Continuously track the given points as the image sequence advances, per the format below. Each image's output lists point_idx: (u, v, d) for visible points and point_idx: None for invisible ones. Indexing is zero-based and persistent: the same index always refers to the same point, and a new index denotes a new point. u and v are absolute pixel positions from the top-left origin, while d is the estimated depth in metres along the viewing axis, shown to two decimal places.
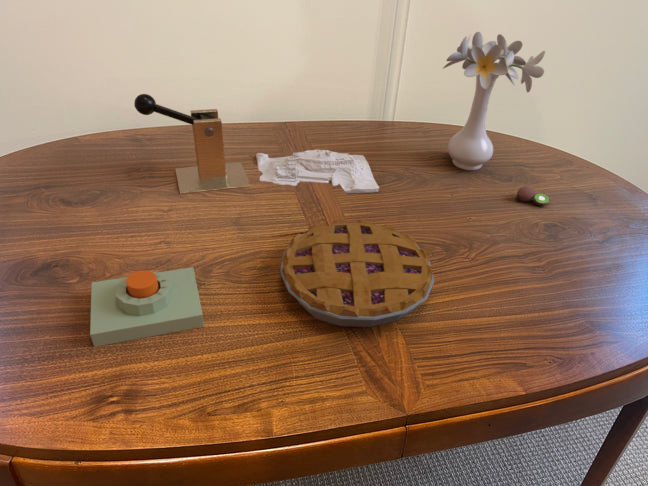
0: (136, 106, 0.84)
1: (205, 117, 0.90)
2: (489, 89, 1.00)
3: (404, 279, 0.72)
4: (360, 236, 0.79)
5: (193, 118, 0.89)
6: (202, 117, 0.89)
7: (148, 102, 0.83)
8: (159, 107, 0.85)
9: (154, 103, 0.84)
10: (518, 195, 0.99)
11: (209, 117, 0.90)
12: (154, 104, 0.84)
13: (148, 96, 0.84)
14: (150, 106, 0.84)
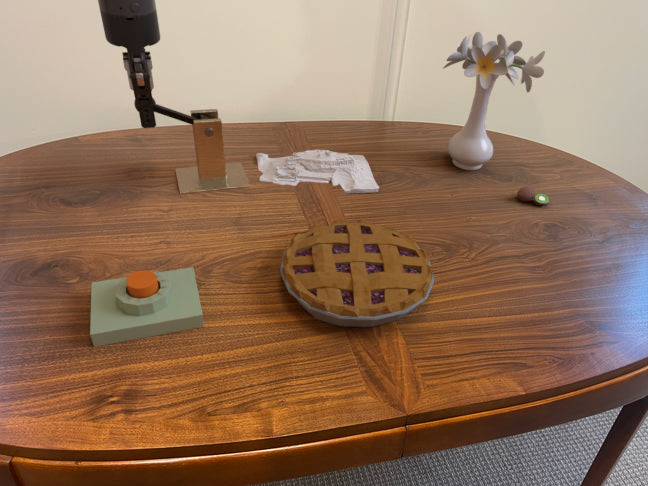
0: (136, 106, 0.84)
1: (205, 117, 0.90)
2: (489, 89, 1.00)
3: (404, 279, 0.72)
4: (360, 236, 0.79)
5: (193, 118, 0.89)
6: (202, 117, 0.89)
7: None
8: (159, 107, 0.85)
9: (154, 103, 0.84)
10: (518, 195, 0.99)
11: (209, 117, 0.90)
12: (154, 104, 0.84)
13: (148, 96, 0.84)
14: None
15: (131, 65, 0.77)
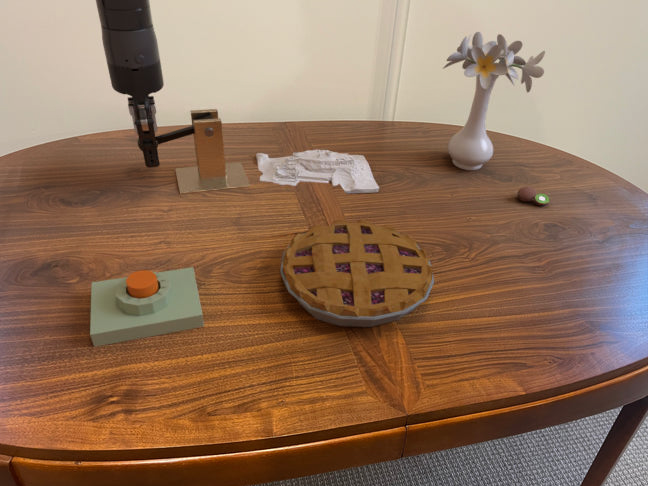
0: (141, 150, 0.88)
1: (200, 119, 0.89)
2: (489, 89, 1.00)
3: (404, 279, 0.72)
4: (360, 236, 0.79)
5: (191, 127, 0.89)
6: None
7: None
8: (159, 138, 0.88)
9: None
10: (518, 195, 0.99)
11: (204, 116, 0.90)
12: None
13: None
14: None
15: (136, 111, 0.81)
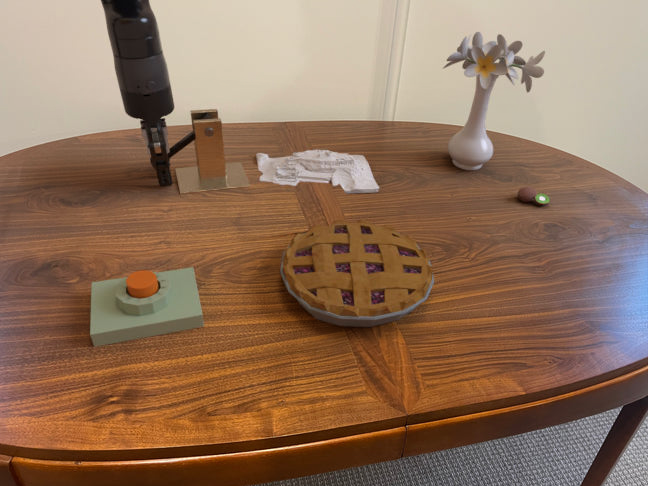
0: None
1: None
2: (489, 89, 1.00)
3: (404, 279, 0.72)
4: (360, 236, 0.79)
5: (193, 132, 0.90)
6: None
7: None
8: None
9: None
10: (519, 196, 0.99)
11: (202, 117, 0.90)
12: None
13: None
14: None
15: (149, 135, 0.84)
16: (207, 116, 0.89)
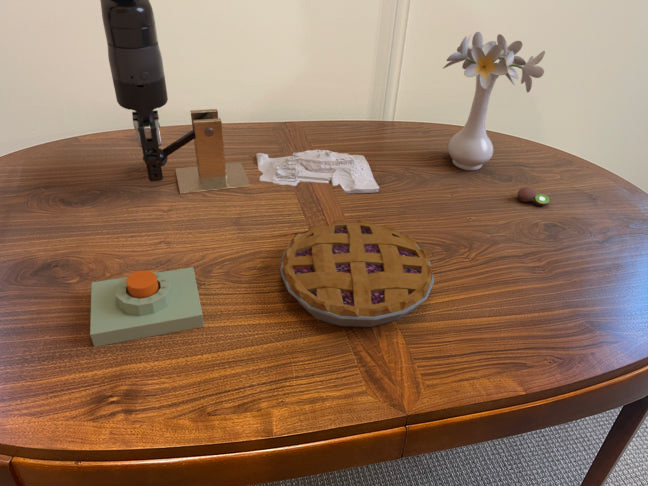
0: None
1: None
2: (489, 89, 1.00)
3: (404, 279, 0.72)
4: (360, 236, 0.79)
5: (193, 131, 0.90)
6: None
7: None
8: (166, 150, 0.90)
9: None
10: (519, 196, 0.99)
11: (202, 117, 0.90)
12: (160, 152, 0.89)
13: (151, 151, 0.89)
14: None
15: None
16: (208, 116, 0.89)
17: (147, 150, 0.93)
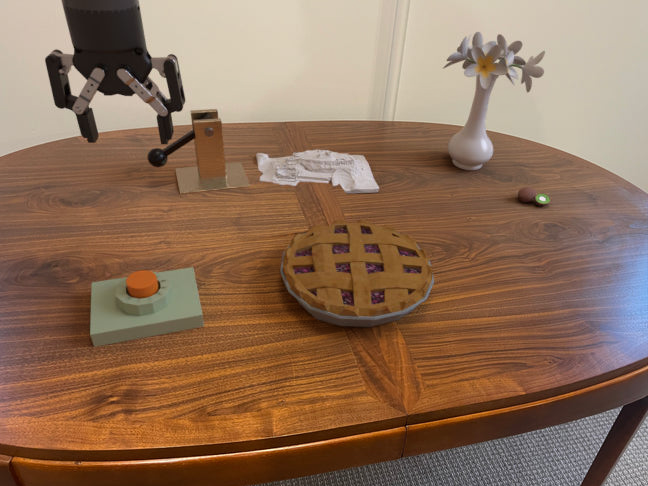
0: None
1: None
2: (489, 89, 1.00)
3: (404, 279, 0.72)
4: (360, 236, 0.79)
5: (193, 131, 0.90)
6: None
7: (155, 156, 0.89)
8: (166, 150, 0.90)
9: (159, 152, 0.89)
10: (519, 196, 0.99)
11: (202, 117, 0.90)
12: (160, 152, 0.89)
13: (151, 151, 0.89)
14: (158, 158, 0.89)
15: (149, 68, 0.61)
16: (208, 116, 0.89)
17: (92, 131, 0.65)
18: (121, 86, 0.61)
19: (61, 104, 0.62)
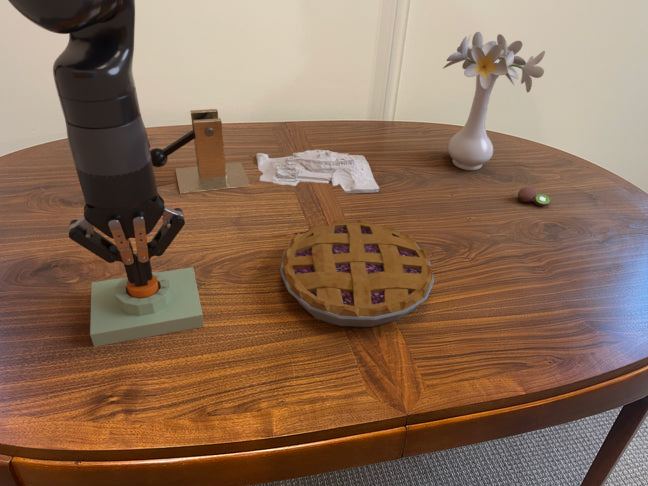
0: None
1: None
2: (489, 89, 1.00)
3: (404, 279, 0.72)
4: (360, 236, 0.79)
5: (193, 131, 0.90)
6: None
7: (155, 156, 0.89)
8: (166, 150, 0.90)
9: (159, 152, 0.89)
10: (519, 196, 0.99)
11: (202, 117, 0.90)
12: (160, 152, 0.89)
13: (151, 151, 0.89)
14: (158, 158, 0.89)
15: (163, 211, 0.61)
16: (208, 116, 0.89)
17: (139, 276, 0.66)
18: None
19: (112, 258, 0.62)
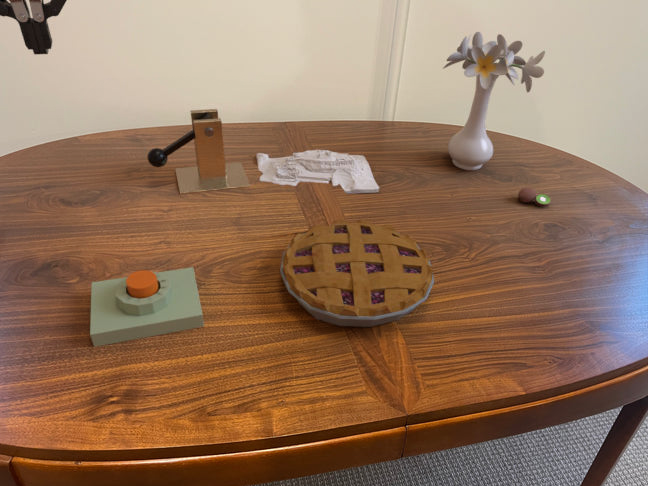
0: None
1: None
2: (489, 89, 1.00)
3: (404, 279, 0.72)
4: (360, 236, 0.79)
5: (193, 131, 0.90)
6: None
7: (155, 156, 0.89)
8: (166, 150, 0.90)
9: (159, 152, 0.89)
10: (519, 196, 0.99)
11: (202, 117, 0.90)
12: (160, 152, 0.89)
13: (151, 151, 0.89)
14: (158, 158, 0.89)
15: None
16: (208, 116, 0.89)
17: (37, 41, 0.64)
18: None
19: (3, 10, 0.61)
